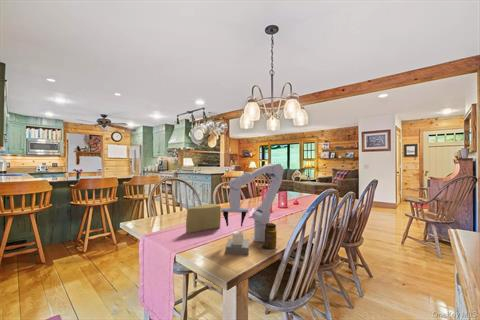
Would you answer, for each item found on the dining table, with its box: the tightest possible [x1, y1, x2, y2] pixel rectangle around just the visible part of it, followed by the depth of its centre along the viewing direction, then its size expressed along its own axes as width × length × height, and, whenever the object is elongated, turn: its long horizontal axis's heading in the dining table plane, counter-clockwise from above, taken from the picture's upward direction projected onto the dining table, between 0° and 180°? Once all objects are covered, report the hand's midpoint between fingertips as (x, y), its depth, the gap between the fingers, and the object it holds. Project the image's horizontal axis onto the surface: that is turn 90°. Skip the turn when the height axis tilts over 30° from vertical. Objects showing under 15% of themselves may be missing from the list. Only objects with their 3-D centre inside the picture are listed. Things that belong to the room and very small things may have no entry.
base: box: [225, 238, 250, 255], centre depth 112 cm, size 11×11×3 cm
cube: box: [232, 230, 244, 245], centre depth 112 cm, size 5×5×5 cm
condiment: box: [258, 222, 280, 253], centre depth 114 cm, size 7×8×12 cm
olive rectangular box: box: [185, 203, 222, 234], centre depth 141 cm, size 22×10×15 cm, turn 130°
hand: (234, 225), depth 119 cm, fingers open, 7 cm apart
